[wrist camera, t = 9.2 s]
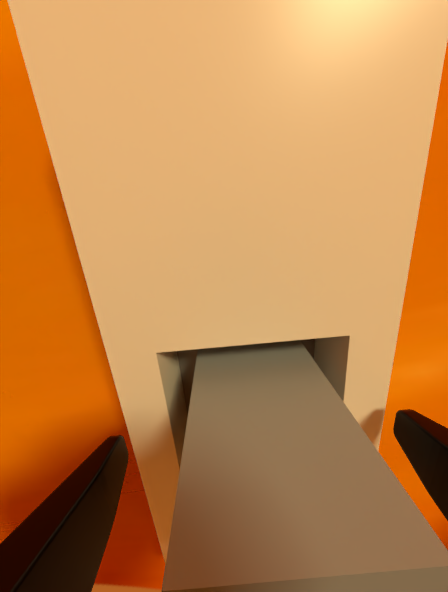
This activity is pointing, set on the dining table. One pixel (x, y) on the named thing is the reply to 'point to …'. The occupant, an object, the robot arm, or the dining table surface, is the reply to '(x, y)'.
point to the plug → (288, 487)
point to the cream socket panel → (237, 186)
